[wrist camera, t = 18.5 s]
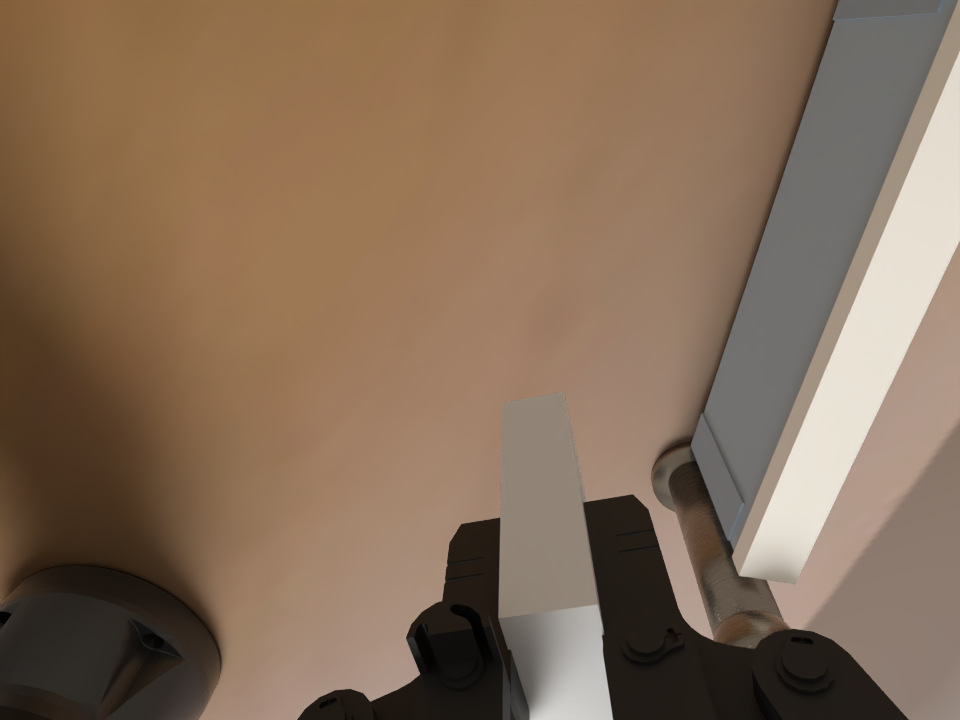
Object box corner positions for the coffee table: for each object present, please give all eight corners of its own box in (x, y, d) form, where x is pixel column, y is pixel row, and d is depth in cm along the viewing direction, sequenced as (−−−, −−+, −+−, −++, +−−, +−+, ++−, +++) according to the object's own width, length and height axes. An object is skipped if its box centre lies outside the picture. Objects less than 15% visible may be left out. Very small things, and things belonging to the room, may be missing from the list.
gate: (731, 451, 33) (794, 584, 25) (688, 445, 33) (738, 575, 25) (910, -34, 23) (1110, -73, 15) (850, -42, 23) (1017, -86, 15)
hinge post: (642, 501, 36) (694, 718, 24) (662, 436, 34) (728, 639, 22) (720, 512, 36) (808, 735, 24) (744, 448, 34) (853, 657, 22)
